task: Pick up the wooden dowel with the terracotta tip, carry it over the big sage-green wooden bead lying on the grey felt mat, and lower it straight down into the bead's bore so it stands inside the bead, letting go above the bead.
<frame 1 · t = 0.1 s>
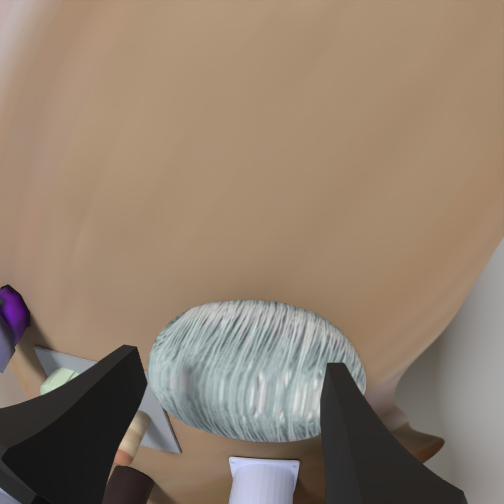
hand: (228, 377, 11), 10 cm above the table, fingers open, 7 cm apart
potion bottle: (15, 306, 25), on the table
wooden dowel: (141, 416, 27), resting on mat
bead: (80, 394, 28), resting on mat
vinegar: (134, 474, 36), on the table
mat: (105, 404, 28), on the table
yarn skein: (262, 334, 22), on the table
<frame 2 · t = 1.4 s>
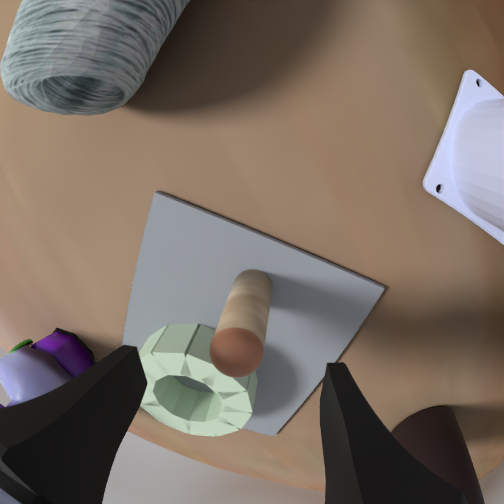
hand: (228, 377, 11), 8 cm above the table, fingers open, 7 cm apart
potion bottle: (73, 352, 23), on the table
wooden dowel: (253, 286, 17), resting on mat
bead: (198, 370, 20), resting on mat
vinegar: (420, 426, 21), on the table
mat: (226, 344, 20), on the table
yarn skein: (145, 12, 13), on the table
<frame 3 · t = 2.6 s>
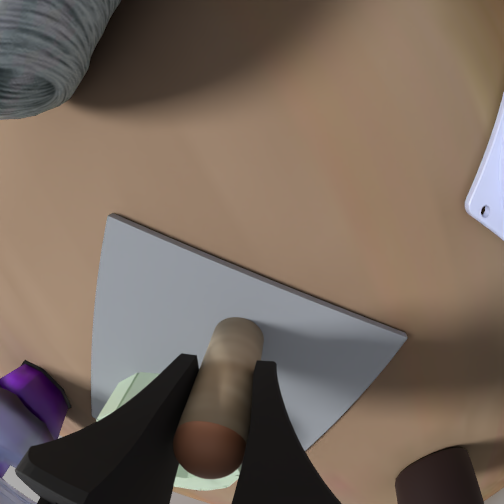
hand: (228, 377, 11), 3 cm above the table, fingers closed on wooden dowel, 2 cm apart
potion bottle: (45, 386, 18), on the table
wooden dowel: (238, 337, 13), resting on mat, touching gripper
bead: (178, 420, 16), resting on mat
vinegar: (430, 465, 17), on the table
mat: (208, 396, 15), on the table
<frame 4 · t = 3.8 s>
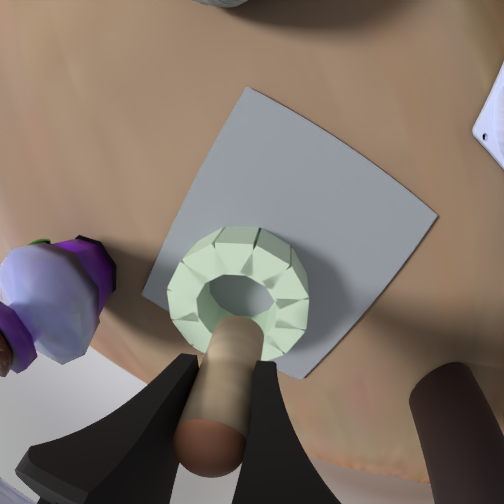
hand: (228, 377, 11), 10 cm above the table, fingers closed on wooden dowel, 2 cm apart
potion bottle: (90, 267, 22), on the table
wooden dowel: (238, 336, 13), point 8 cm above the table, touching gripper
bead: (243, 286, 20), resting on mat
vinegar: (439, 386, 22), on the table
mat: (280, 256, 19), on the table
when the fingers open (4 cm above the table, at t = 5.1 s): wooden dowel drops 1 cm, resting on mat.
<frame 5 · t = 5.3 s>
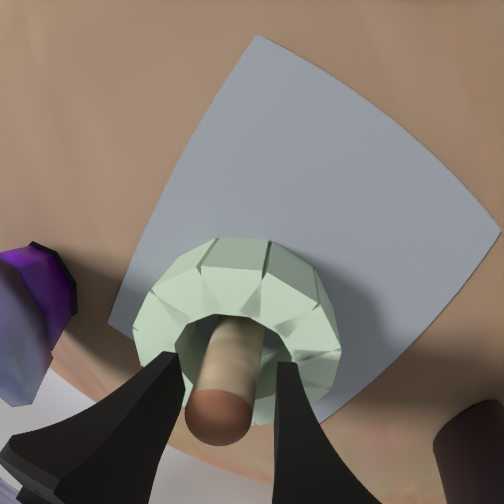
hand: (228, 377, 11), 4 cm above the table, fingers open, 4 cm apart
potion bottle: (47, 282, 16), on the table
wooden dowel: (242, 320, 14), resting on mat
bead: (242, 321, 14), resting on mat
vinegar: (467, 424, 17), on the table
mat: (297, 281, 13), on the table
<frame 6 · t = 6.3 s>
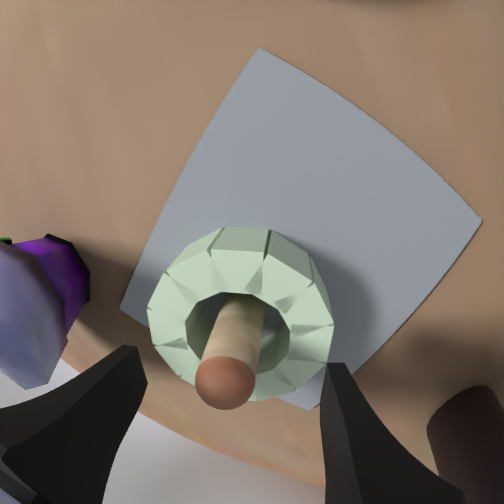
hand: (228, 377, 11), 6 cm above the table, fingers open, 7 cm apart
potion bottle: (61, 272, 17), on the table
wooden dowel: (245, 303, 16), resting on mat
bead: (245, 304, 16), resting on mat
vinegar: (459, 410, 18), on the table
mat: (294, 267, 15), on the table
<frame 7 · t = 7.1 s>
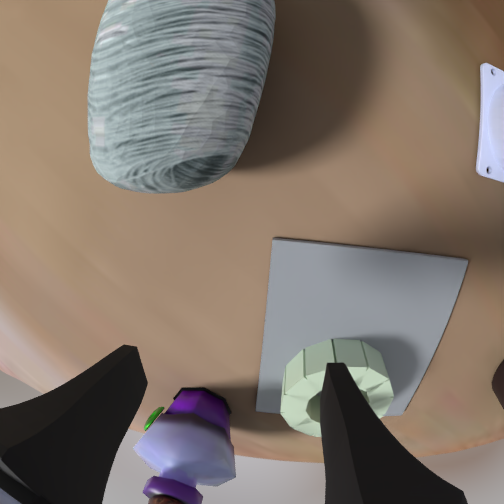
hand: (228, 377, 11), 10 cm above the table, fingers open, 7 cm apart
potion bottle: (202, 404, 26), on the table
bead: (334, 379, 22), resting on mat
mat: (355, 348, 21), on the table
yarn skein: (201, 73, 16), on the table
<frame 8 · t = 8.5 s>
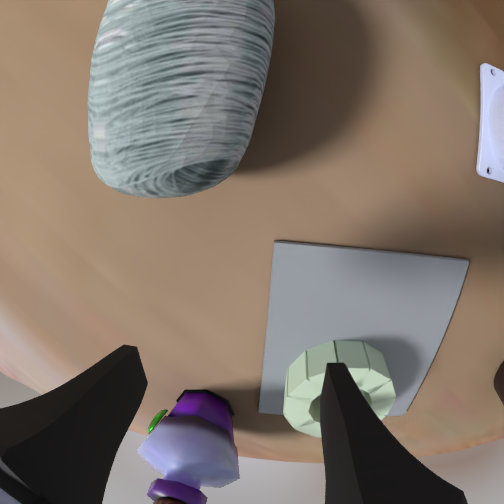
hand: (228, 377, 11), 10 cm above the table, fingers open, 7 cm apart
potion bottle: (205, 406, 26), on the table
bead: (337, 380, 22), resting on mat
mat: (357, 349, 21), on the table
yarn skein: (201, 76, 16), on the table
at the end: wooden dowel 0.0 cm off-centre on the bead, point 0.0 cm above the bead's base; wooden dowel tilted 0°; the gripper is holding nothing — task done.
